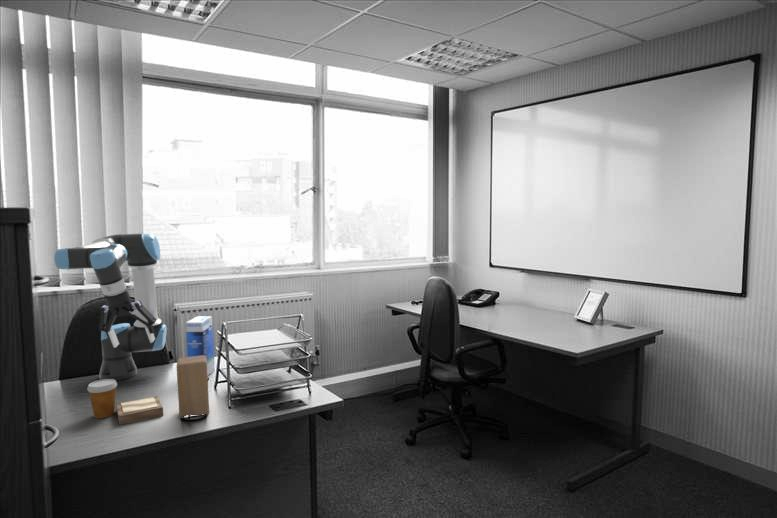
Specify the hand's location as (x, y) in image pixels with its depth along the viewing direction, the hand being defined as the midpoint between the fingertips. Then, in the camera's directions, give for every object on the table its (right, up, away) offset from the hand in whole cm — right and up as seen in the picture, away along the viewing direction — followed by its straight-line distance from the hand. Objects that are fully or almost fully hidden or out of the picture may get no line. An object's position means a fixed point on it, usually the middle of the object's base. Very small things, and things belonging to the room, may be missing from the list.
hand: (134, 343), depth 184 cm
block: (+23, -25, -1) cm, 34 cm away
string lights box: (+9, -22, +42) cm, 48 cm away
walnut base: (+2, -25, -1) cm, 26 cm away
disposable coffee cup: (-10, -26, -2) cm, 28 cm away
